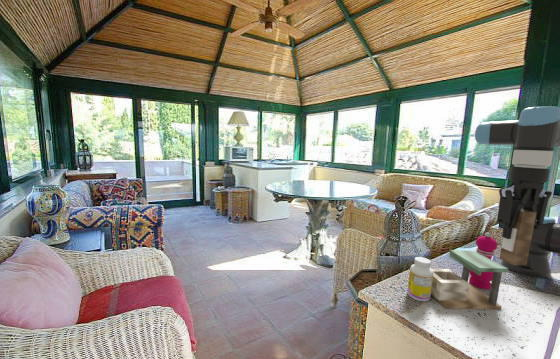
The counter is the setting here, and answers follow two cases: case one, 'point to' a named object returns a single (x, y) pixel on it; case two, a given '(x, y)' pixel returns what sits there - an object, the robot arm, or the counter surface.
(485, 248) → the pepper mill
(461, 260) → the awning station
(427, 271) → the supplement bottle
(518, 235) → the walnut peg
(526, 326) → the counter surface
